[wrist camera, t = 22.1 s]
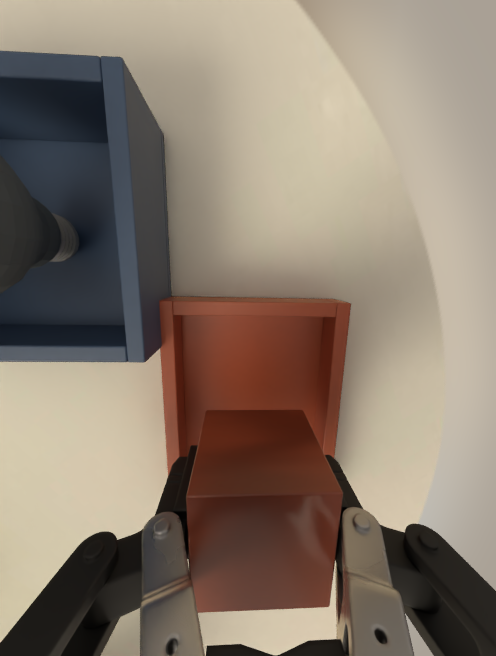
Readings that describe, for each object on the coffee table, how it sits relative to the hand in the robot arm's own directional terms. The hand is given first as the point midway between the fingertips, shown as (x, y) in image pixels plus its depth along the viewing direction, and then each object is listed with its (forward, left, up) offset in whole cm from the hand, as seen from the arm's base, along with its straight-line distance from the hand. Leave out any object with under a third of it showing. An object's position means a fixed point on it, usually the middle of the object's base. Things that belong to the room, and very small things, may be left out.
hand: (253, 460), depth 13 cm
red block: (0, 0, -1) cm, 1 cm away
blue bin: (+11, -11, -5) cm, 16 cm away
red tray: (0, 0, -5) cm, 5 cm away
